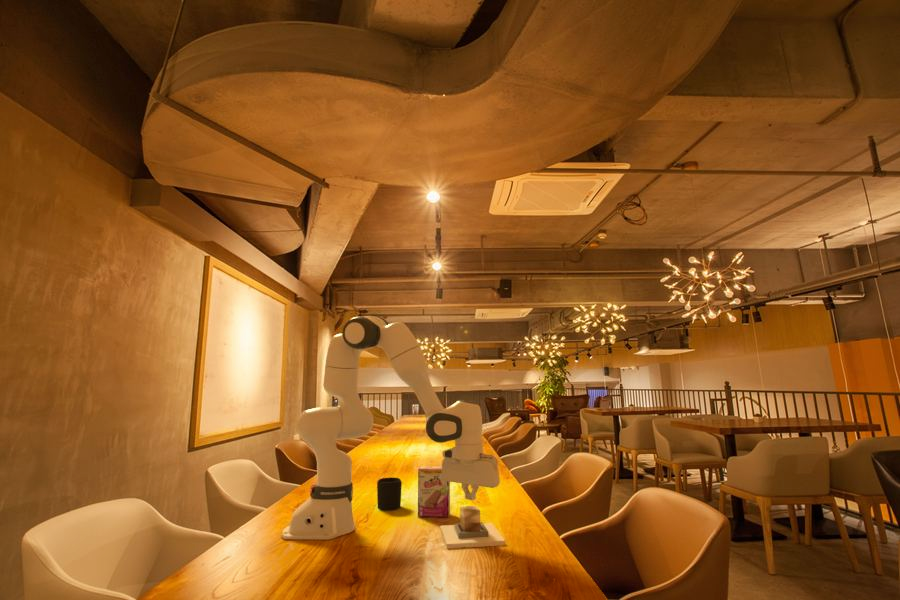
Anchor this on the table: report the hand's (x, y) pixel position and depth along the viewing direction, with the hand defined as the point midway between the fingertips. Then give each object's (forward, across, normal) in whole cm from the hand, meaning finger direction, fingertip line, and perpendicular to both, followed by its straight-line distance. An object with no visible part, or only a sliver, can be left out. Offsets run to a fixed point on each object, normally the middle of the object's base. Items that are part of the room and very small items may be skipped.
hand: (470, 499), depth 136 cm
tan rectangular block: (+10, 0, 0) cm, 10 cm away
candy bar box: (+11, +24, -10) cm, 28 cm away
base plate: (+11, 0, 0) cm, 11 cm away
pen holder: (+11, +45, -9) cm, 47 cm away
